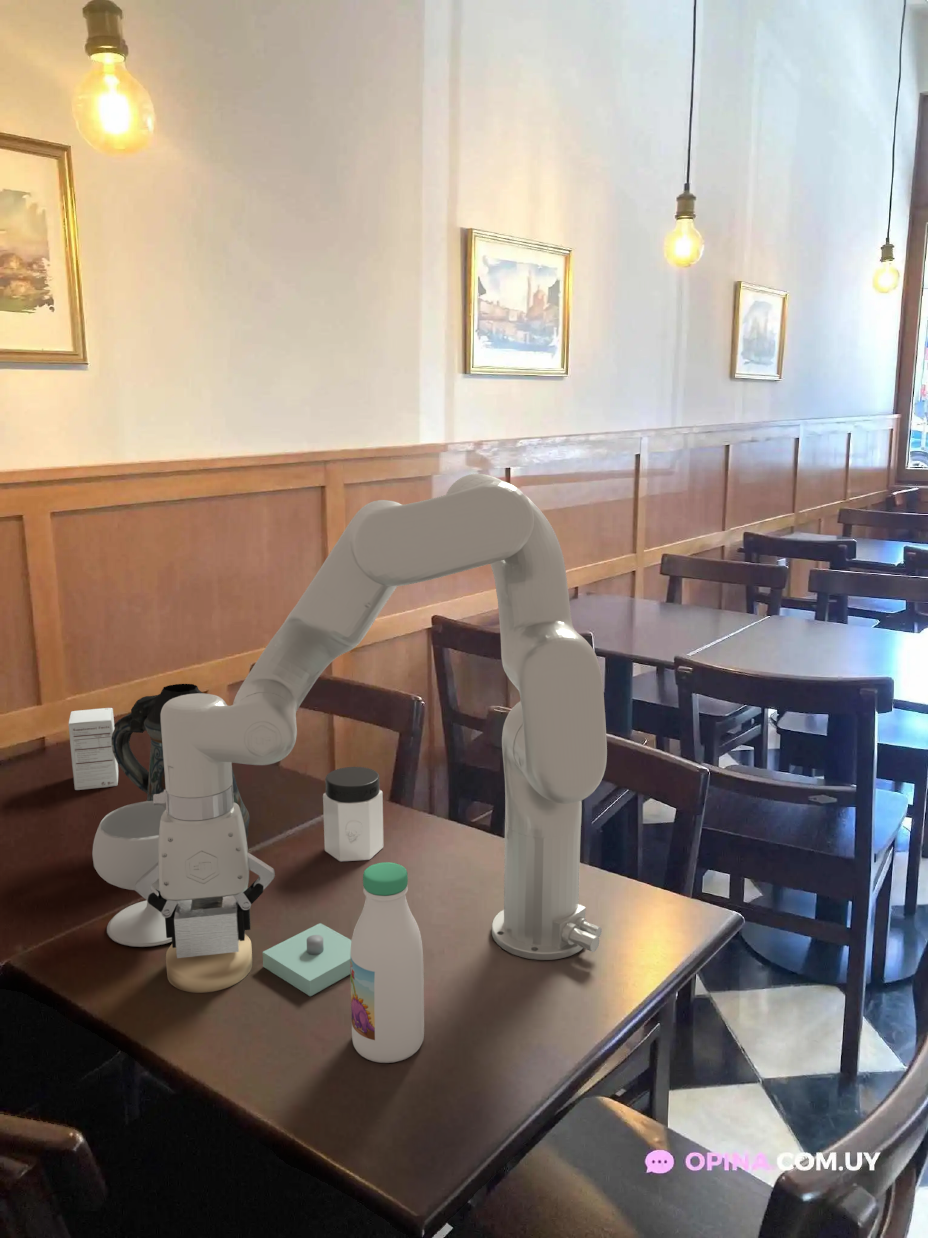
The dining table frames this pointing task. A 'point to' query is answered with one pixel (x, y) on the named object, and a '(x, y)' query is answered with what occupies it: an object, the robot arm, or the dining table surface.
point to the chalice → (131, 869)
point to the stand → (310, 959)
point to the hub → (209, 969)
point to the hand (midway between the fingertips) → (209, 937)
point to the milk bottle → (386, 970)
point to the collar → (206, 926)
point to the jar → (353, 814)
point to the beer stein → (154, 744)
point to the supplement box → (93, 748)
